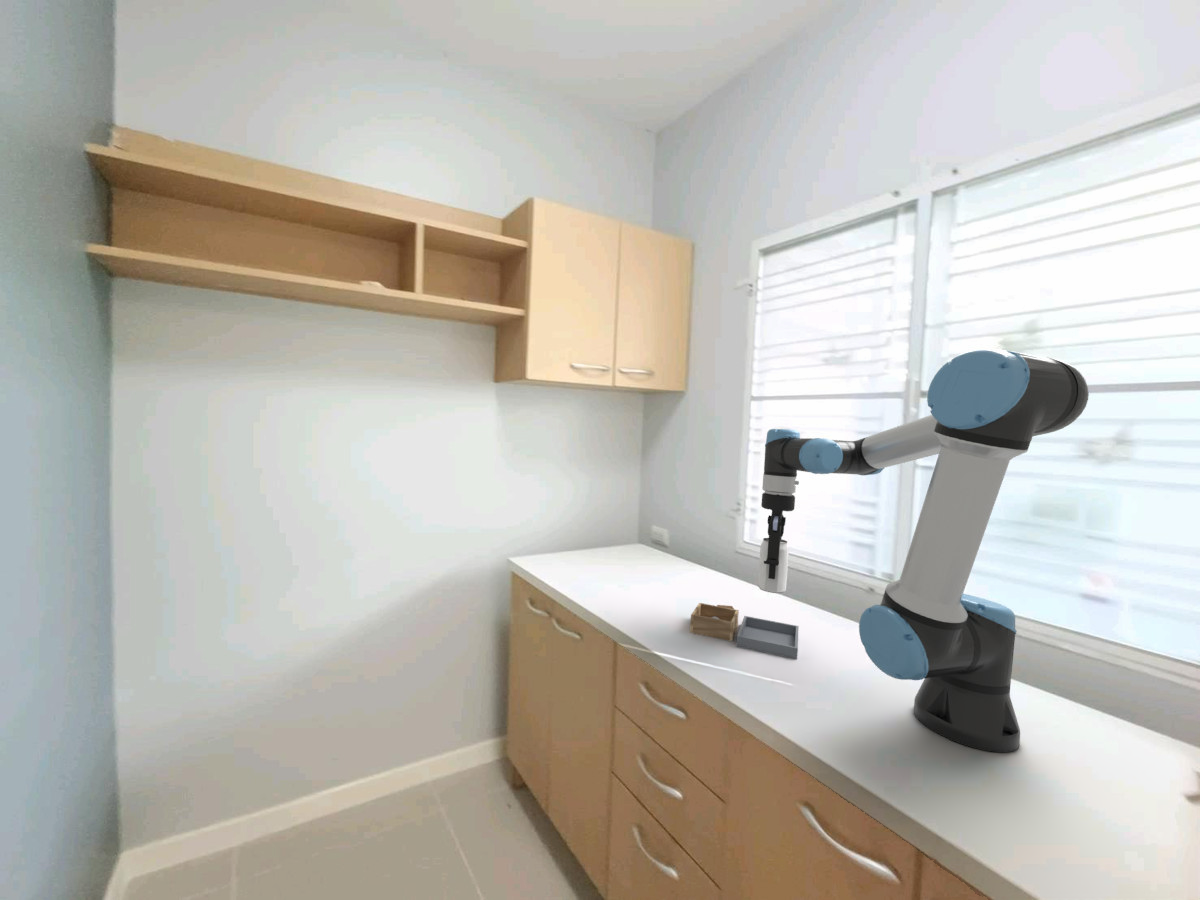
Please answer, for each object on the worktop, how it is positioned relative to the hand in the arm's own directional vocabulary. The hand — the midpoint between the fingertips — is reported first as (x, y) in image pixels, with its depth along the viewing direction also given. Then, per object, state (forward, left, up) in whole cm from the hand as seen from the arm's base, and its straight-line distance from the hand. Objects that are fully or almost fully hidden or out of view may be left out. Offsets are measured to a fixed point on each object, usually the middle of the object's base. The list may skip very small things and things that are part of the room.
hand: (771, 587), depth 119 cm
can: (0, 0, -1) cm, 1 cm away
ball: (0, +13, -13) cm, 18 cm away
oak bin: (0, +13, -14) cm, 19 cm away
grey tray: (0, 0, -14) cm, 14 cm away
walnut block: (+8, +11, -14) cm, 20 cm away
